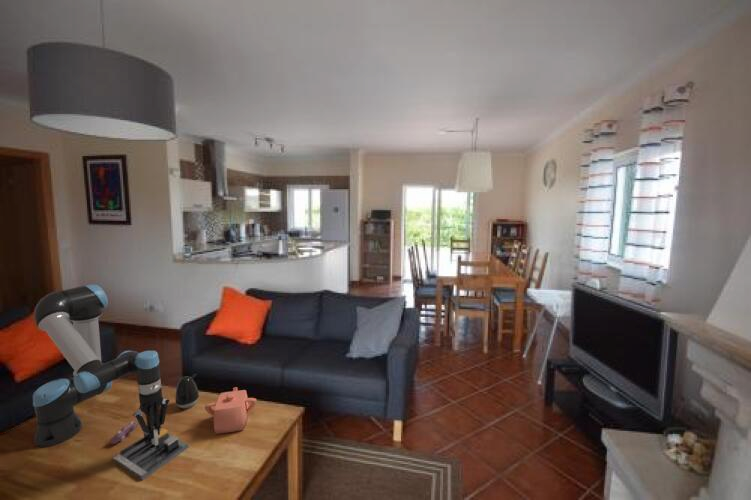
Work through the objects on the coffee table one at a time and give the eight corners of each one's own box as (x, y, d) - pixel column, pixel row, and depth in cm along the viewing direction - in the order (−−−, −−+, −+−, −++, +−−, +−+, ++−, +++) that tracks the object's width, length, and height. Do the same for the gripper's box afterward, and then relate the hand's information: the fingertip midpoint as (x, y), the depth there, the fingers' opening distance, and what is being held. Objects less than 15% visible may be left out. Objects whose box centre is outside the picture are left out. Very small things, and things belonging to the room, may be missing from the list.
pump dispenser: (204, 402, 169) (201, 375, 166) (183, 414, 160) (180, 385, 158) (192, 396, 174) (190, 369, 172) (172, 407, 166) (168, 378, 163)
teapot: (255, 430, 150) (253, 401, 147) (202, 437, 145) (199, 408, 143) (260, 403, 169) (259, 377, 166) (213, 409, 164) (211, 383, 162)
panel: (113, 460, 133) (111, 446, 132) (159, 432, 148) (158, 419, 147) (142, 480, 124) (140, 465, 123) (188, 447, 139) (187, 434, 138)
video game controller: (116, 449, 141) (120, 437, 139) (107, 443, 141) (111, 431, 139) (137, 432, 150) (141, 421, 149) (128, 427, 151) (133, 416, 149)
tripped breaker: (155, 444, 138) (153, 434, 138) (165, 438, 142) (163, 428, 141) (159, 447, 137) (158, 436, 136) (169, 441, 141) (168, 430, 140)
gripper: (138, 401, 126) (143, 457, 130) (171, 385, 137) (176, 437, 141) (127, 395, 130) (133, 450, 133) (161, 380, 141) (165, 431, 144)
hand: (155, 443), depth 137 cm, fingers closed
